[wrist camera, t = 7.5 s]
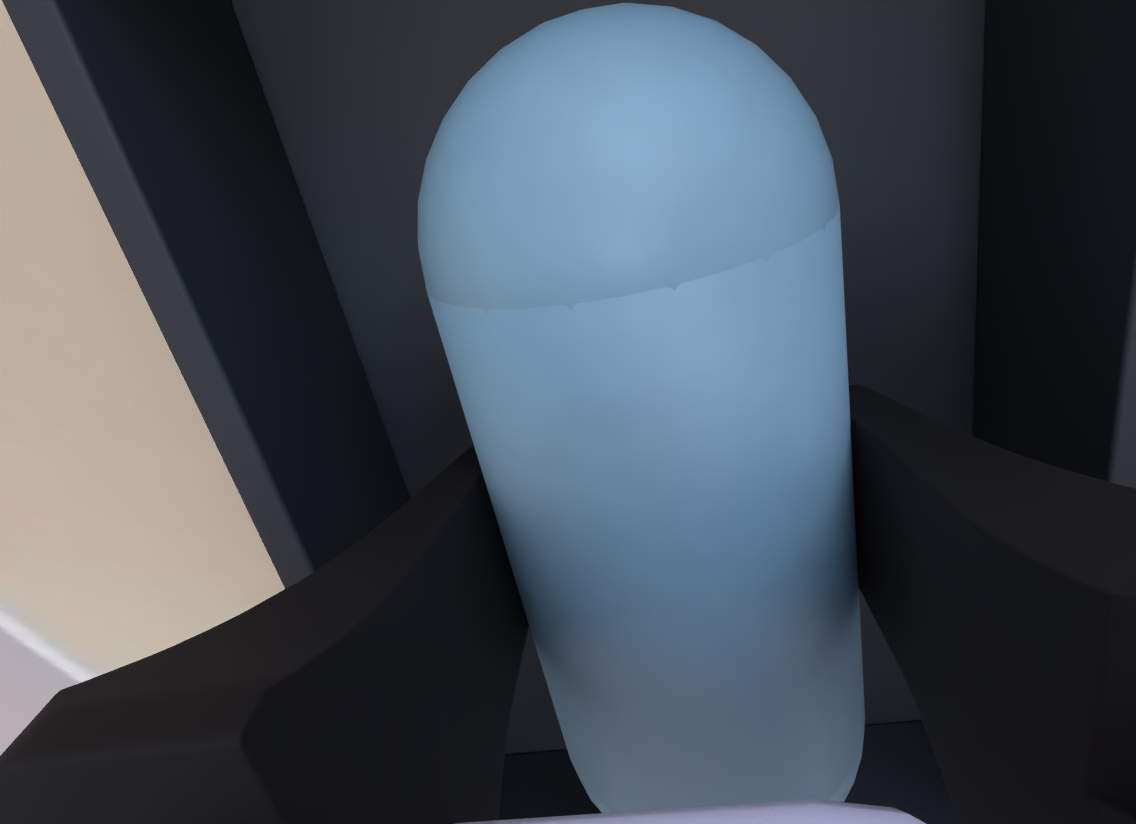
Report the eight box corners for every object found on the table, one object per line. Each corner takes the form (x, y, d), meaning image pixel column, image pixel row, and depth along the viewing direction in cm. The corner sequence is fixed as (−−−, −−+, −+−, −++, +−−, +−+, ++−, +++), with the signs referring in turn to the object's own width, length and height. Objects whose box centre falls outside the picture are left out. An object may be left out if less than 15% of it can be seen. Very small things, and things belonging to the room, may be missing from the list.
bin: (979, 714, 17) (1088, 916, 13) (490, 754, 19) (453, 940, 15) (1028, -361, 9) (1352, -699, 5) (171, -100, 11) (-95, -191, 7)
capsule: (829, 677, 15) (913, 939, 11) (596, 699, 16) (584, 951, 11) (774, -25, 10) (903, -98, 5) (424, 61, 10) (270, 65, 6)
